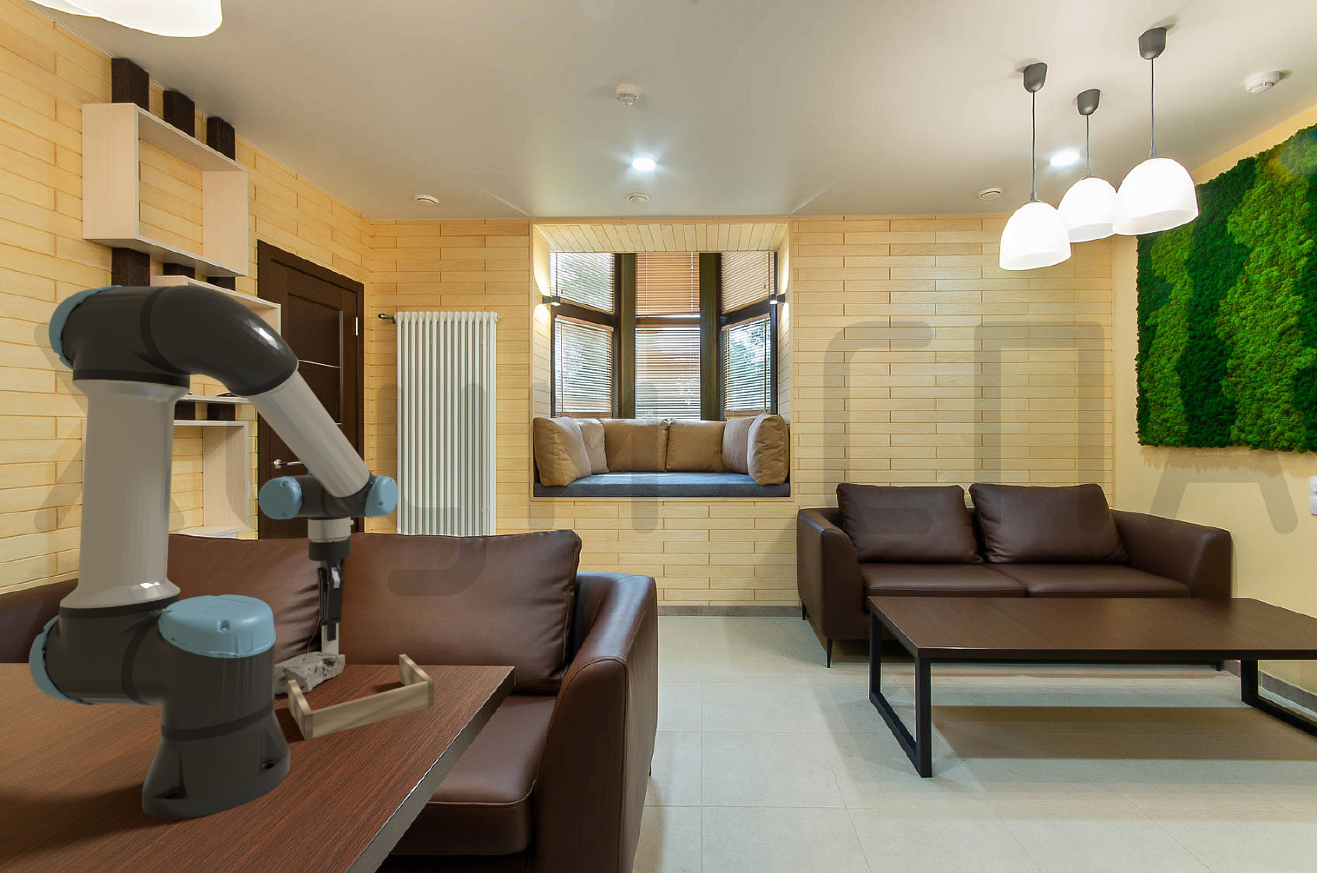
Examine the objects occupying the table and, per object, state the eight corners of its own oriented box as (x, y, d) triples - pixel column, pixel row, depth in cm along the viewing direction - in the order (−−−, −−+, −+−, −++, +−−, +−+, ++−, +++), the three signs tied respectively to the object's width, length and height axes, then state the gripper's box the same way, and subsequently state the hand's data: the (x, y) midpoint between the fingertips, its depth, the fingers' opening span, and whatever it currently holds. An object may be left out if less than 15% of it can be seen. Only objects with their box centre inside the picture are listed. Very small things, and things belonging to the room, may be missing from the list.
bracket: (434, 710, 99) (433, 681, 99) (305, 749, 87) (305, 715, 87) (404, 680, 111) (404, 654, 111) (288, 710, 99) (288, 681, 99)
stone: (353, 666, 117) (302, 669, 117) (350, 638, 116) (299, 641, 116) (317, 703, 104) (260, 706, 104) (314, 672, 103) (256, 676, 103)
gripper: (358, 541, 115) (358, 659, 115) (343, 532, 125) (343, 642, 125) (315, 545, 110) (315, 669, 110) (302, 536, 120) (303, 650, 120)
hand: (330, 654), depth 118 cm, fingers closed
